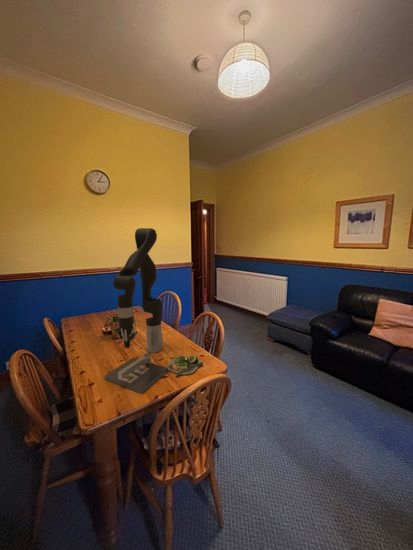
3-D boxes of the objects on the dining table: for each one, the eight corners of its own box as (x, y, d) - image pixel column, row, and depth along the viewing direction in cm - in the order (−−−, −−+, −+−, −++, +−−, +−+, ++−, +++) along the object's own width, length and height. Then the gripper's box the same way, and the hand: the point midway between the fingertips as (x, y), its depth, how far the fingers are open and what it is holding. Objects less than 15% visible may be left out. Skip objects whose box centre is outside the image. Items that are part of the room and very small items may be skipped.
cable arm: (147, 357, 127) (146, 352, 126) (152, 359, 125) (152, 354, 125) (117, 377, 108) (117, 371, 108) (123, 379, 107) (122, 374, 106)
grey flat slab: (133, 360, 132) (133, 353, 132) (168, 371, 122) (167, 364, 121) (104, 379, 115) (104, 371, 114) (141, 394, 104) (141, 385, 103)
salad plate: (190, 382, 114) (190, 373, 113) (159, 373, 120) (159, 365, 120) (205, 363, 131) (205, 355, 130) (178, 356, 138) (178, 349, 137)
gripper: (141, 314, 116) (142, 347, 119) (121, 311, 122) (123, 341, 125) (130, 319, 110) (131, 353, 112) (110, 315, 115) (112, 347, 118)
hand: (127, 347), depth 118 cm, fingers closed
